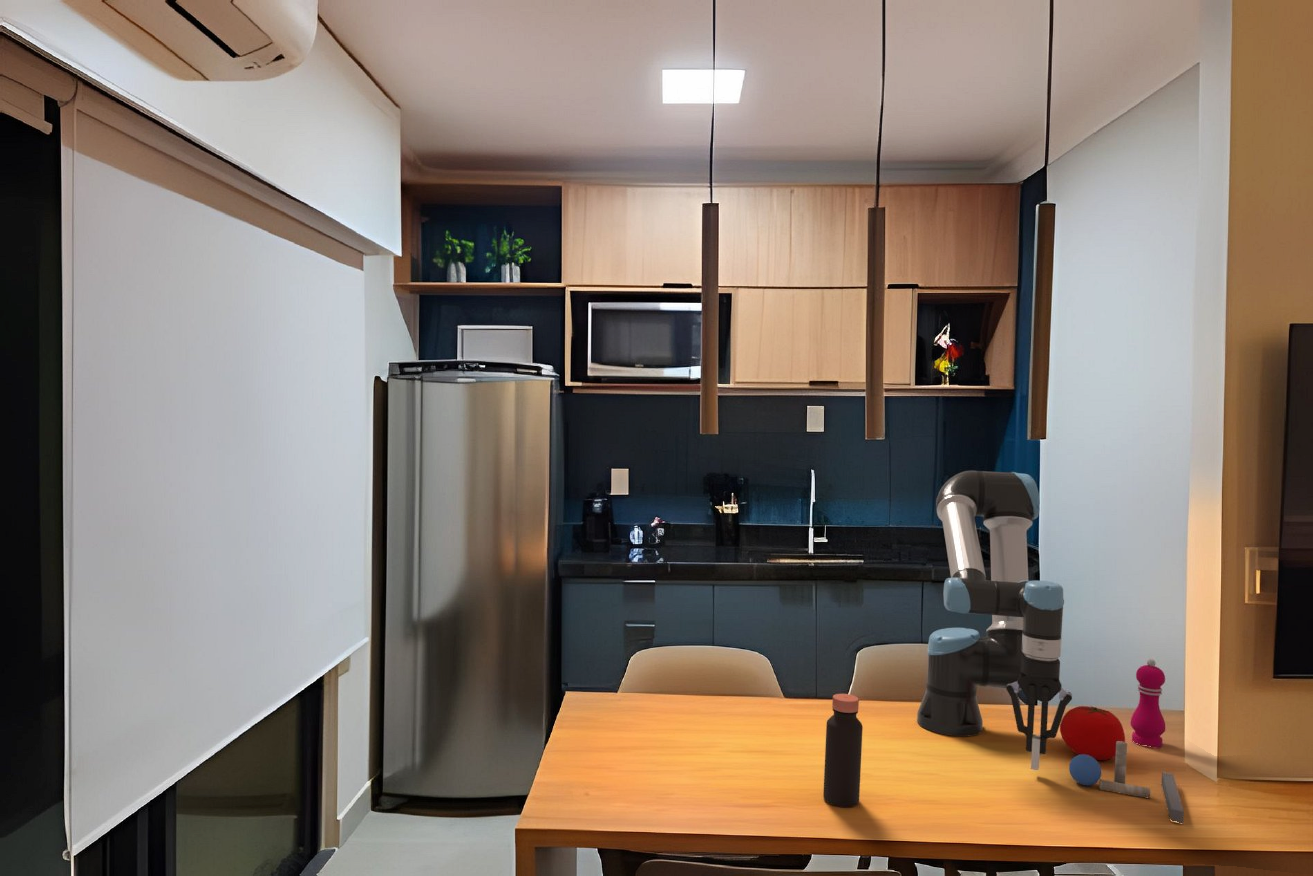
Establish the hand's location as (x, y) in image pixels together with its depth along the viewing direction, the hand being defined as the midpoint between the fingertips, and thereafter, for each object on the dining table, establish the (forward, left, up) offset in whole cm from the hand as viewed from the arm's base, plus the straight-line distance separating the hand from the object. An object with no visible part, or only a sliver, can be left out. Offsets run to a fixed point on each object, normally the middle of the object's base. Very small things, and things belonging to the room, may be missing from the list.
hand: (1034, 767), depth 185 cm
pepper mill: (+23, +36, -2) cm, 43 cm away
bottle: (-33, -33, -2) cm, 47 cm away
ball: (+9, +1, +1) cm, 10 cm away
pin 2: (+12, 0, -1) cm, 12 cm away
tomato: (+11, +20, -2) cm, 23 cm away
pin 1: (+16, +4, -2) cm, 17 cm away
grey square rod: (+25, 0, -2) cm, 25 cm away
